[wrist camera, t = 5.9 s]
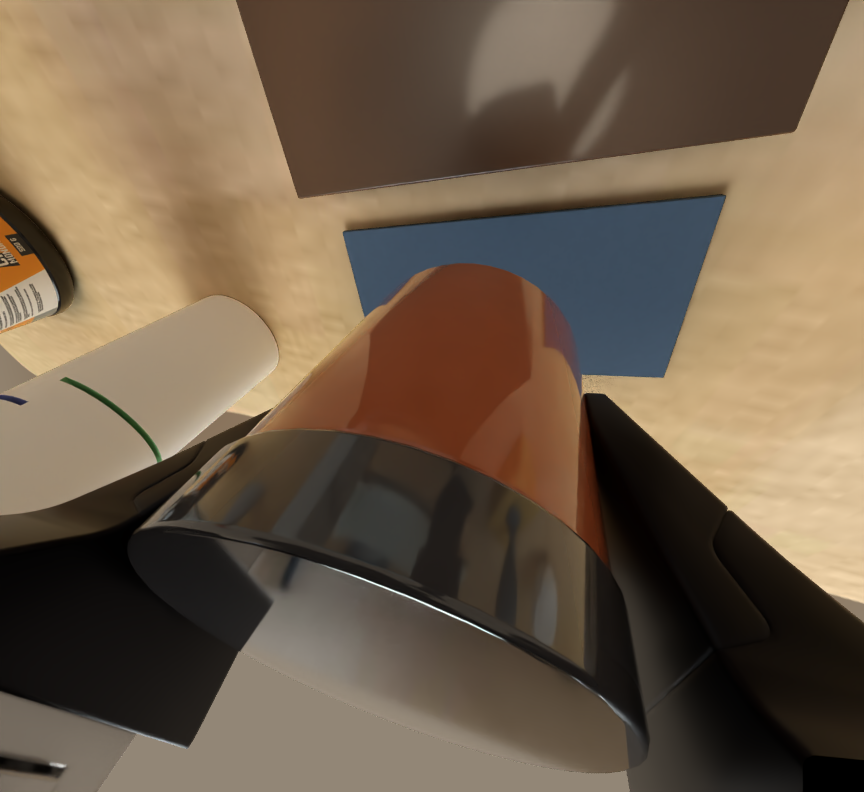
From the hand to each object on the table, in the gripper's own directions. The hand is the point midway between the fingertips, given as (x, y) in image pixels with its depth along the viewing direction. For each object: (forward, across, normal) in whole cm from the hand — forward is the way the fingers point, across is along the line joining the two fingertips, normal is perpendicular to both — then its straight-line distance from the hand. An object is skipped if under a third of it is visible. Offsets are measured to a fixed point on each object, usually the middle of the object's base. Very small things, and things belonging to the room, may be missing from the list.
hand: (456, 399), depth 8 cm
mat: (+12, 0, +2) cm, 12 cm away
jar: (+2, 0, 0) cm, 2 cm away
